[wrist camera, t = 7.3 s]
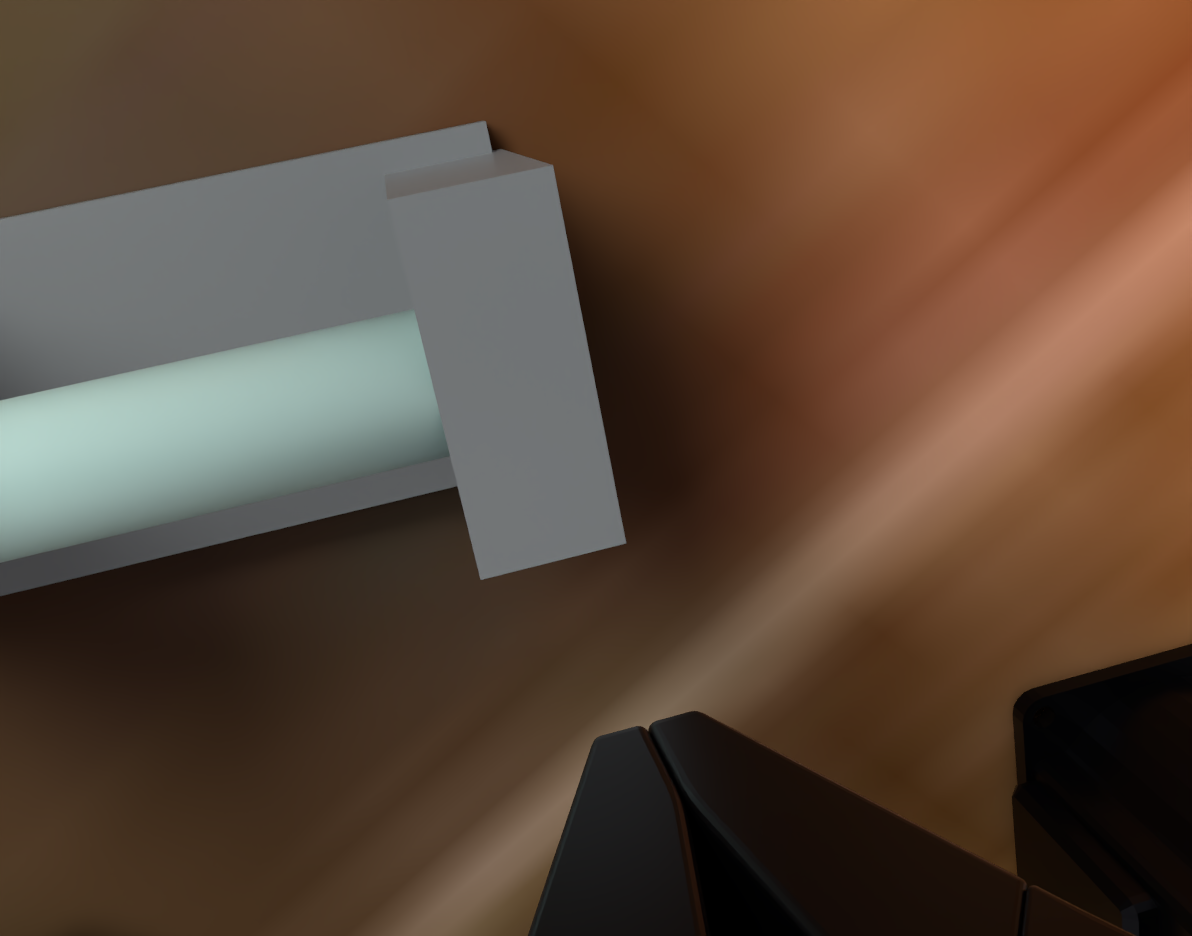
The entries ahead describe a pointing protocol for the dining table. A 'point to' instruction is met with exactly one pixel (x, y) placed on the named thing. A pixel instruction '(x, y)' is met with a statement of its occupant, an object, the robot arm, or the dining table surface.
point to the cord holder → (299, 360)
